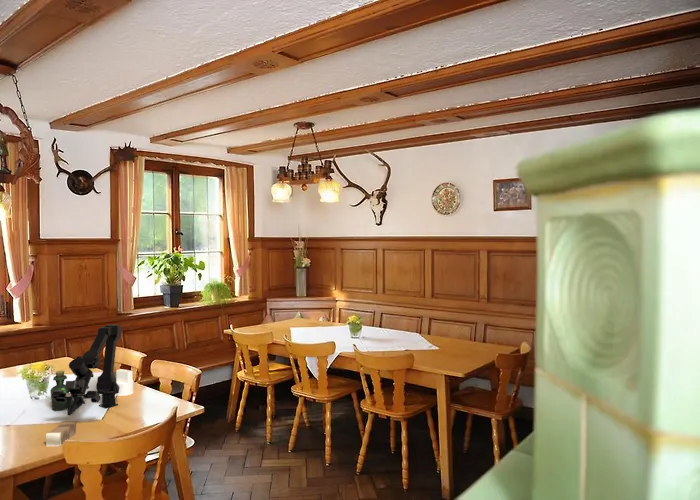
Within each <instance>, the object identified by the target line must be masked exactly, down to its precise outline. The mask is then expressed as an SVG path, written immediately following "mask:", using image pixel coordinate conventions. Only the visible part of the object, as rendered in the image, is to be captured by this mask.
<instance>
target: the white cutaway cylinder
mask: <svg viewBox="0 0 700 500" xmlns="http://www.w3.org/2000/svg"><path fill="white" fill-rule="evenodd" d="M115 372H116V383H117V384H118V386H119V393H117V394H115V396H118V397H123V396H126V397H127V396H130V395H132V394H134V392H135V391H134V390H135V381H134V380H133V378H134V377H133V372H134V371H133V370H129V369H122V368H120V369H116V371H115Z"/></svg>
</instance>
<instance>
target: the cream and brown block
mask: <svg viewBox="0 0 700 500" xmlns="http://www.w3.org/2000/svg"><path fill="white" fill-rule="evenodd" d="M76 434H77V421H63V422H61V423H60V424H58V425H57V426H56V427H55V428H53V429H51V430H50V431H48V432H47V433H46V434H45V446H46V447H54V448H55V447H60V446H61V445H62V446H63V444H64V443H65V442H64V441H65V440H67V439H68V440H70V439H71V438H72V437H74V436H76ZM68 440H67V441H68ZM63 442H64V443H63Z"/></svg>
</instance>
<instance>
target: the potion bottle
mask: <svg viewBox="0 0 700 500" xmlns="http://www.w3.org/2000/svg"><path fill="white" fill-rule="evenodd" d="M66 379H68V377H67V375H65V370H57V371H55V375H54V376H53V379H52V380H53V381H55V383H56V385H54V386H52V387H51V389H50V399H51V408H52V409H51V410H52V411H54V412H62V411H66V410H68V405H67V401H65V402H56V401H55V400H54V399H53V398H52V397H51V395H52V392H53V391H64V393H65V394H66V393H70V392H68V389H65V384H66V383H65V381H66ZM64 383H65V384H64Z"/></svg>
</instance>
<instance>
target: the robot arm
mask: <svg viewBox="0 0 700 500" xmlns="http://www.w3.org/2000/svg"><path fill="white" fill-rule="evenodd" d="M122 333H123V327H122V326H121V325H120V324H105V325H104V326H102V327H99V328H98V329H97V334H96V335H95V338H94V339H93V342H92V344H91V346H90V348H89V349H88V350H87V351H86V352H84V353H83V355H79V356H78V355H77V356H76V358H74V359H72V360H71V361H70V362H69V364H68V368H69V369H70V370H71V372H72V373H73V375H75V380H65V389H68V392H69V393H66V394H65V393H64V391H53V392H52V395H51V394H50V398H51V397H52V398H53V399H54V400H55V401H56V402H65V401H67V405H68V408H67V416H71V415H73V414H74V412H76V411H77V410H78V409H80V407H81V406H83V405H86V400H87V399H89V400H90V401H91V403H99V402H100V401H101V404H98V406H99V407H101V408H103V409H108V408H112V407H116V406H118V405H119V403H117V402H116V395H115V394H117V393H119V386H118V384H117V383H116V377H115V375H114V373H113V372H114V368H115V359H116V350H117V349H116V348H117V343H118V342H119V340H120V339H121V336H122ZM103 348H104V356H103V365H102V372H101V374H100V376H98V377H97V379H96V380H97V382H96V386H95V387H96V390H89V388H90V386H89V385H90V381H91V379H92V378H94V376H95V375H94V373H93V371H92V369H93V370H95V369H97V368H99V367H100V363H101V356H100V355H101V353H102V351H103Z"/></svg>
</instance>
